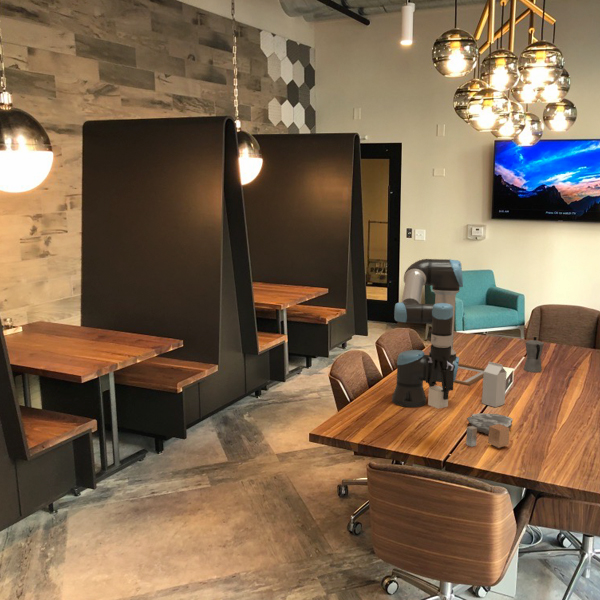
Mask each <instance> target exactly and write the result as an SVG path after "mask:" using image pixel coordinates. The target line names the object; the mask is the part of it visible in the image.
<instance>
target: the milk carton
mask: <svg viewBox="0 0 600 600" xmlns="http://www.w3.org/2000/svg"><path fill="white" fill-rule="evenodd" d="M482 379H483V380H482V393H481V394H482V395H481V404H483V405H486V406H489V407H491V408H497V407H500V406H503V405H505V400H506V388H507V387H506V386H507V371H506V369H505V368H504V366H503V364H501V363H497V362H493V361H488V364H487V365H486V367H485V370H484V376H483V378H482Z"/></svg>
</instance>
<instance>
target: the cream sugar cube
mask: <svg viewBox="0 0 600 600" xmlns="http://www.w3.org/2000/svg"><path fill="white" fill-rule="evenodd" d="M436 386H437V385H436ZM441 390H443V389H442V385H441V386H440V385H438V386H437V387H431V388H429V387H428V398H427V400H428V401H427V405H428V406H430V407H432V408H435V409H437V410H438V409H441V408H440V399H441ZM448 406H449V398H448V399H447V407H448ZM447 407H446V408H447Z"/></svg>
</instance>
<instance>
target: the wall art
mask: <svg viewBox="0 0 600 600" xmlns="http://www.w3.org/2000/svg"><path fill="white" fill-rule="evenodd" d="M458 369H462V370H467V371H472V372H478V373H476V374H475V375H473V376H471V377H469V378H467V379H465V380H459V379H455V381H454V382H453V384H459V385H462V386H464V385H465V386H468V387H471V386H472V385H474V384H475V383H477V382H478V381H480V380H482V379H483V376H484V370H485V369H486V367H485V368H483V367H478V366H473V365H467V364H463V363H459V364H458Z"/></svg>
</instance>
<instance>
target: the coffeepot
mask: <svg viewBox="0 0 600 600" xmlns="http://www.w3.org/2000/svg"><path fill="white" fill-rule="evenodd" d="M537 339H538V337H537V336H534V337H533V339H530V340H526V341H525V350H526V351H525V353H526V358H525V362H524V367H523V370H524V371H525V372H528V373H541V372H542V371H543V369H542V368H543V367H542V359H541V356H542V353H543V348H544V344H545V342H542V341H540V340H537Z"/></svg>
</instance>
